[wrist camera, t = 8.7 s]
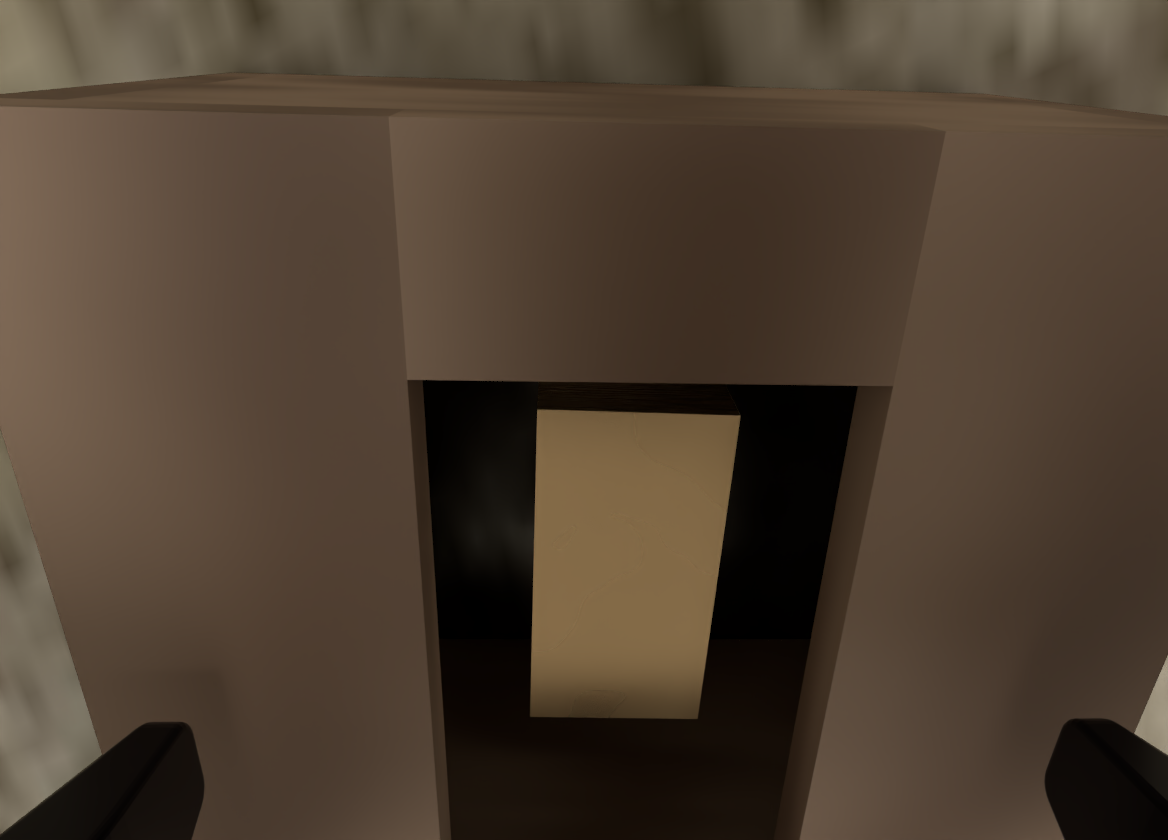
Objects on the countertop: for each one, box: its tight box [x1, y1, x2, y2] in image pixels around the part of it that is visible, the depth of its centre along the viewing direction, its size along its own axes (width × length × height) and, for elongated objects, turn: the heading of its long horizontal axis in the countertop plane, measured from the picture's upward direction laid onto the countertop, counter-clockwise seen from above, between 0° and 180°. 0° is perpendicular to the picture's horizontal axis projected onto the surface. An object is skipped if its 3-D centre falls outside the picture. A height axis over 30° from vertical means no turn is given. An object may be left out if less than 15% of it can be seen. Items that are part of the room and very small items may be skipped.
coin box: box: [0, 73, 1168, 840], centre depth 12 cm, size 12×12×7 cm
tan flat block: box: [530, 382, 741, 719], centre depth 13 cm, size 2×5×5 cm, turn 178°
